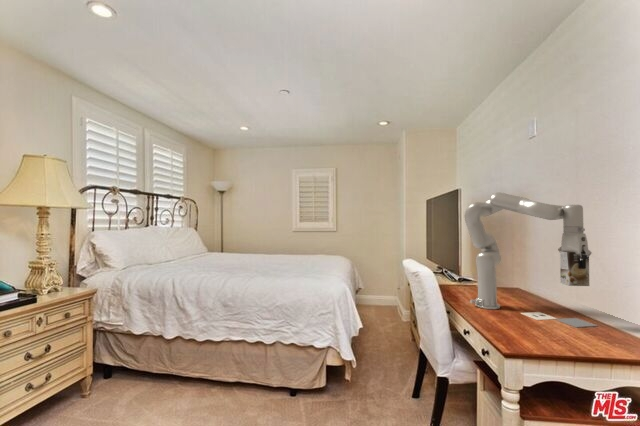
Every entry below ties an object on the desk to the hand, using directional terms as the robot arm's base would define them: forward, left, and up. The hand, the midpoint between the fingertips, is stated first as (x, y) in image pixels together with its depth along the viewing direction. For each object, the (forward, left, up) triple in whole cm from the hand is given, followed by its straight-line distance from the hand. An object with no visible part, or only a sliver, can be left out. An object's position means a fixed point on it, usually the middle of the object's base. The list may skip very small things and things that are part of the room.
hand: (574, 267), depth 148 cm
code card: (-9, +12, -27) cm, 31 cm away
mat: (0, 0, -27) cm, 27 cm away
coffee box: (0, 0, -9) cm, 9 cm away
